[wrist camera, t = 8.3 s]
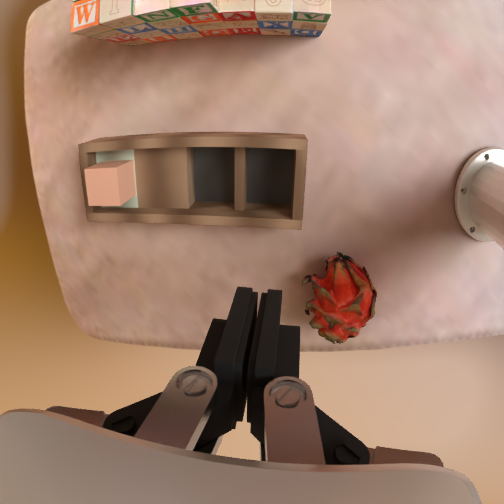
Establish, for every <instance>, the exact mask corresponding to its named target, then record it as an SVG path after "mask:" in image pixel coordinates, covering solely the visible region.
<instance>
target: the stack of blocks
mask: <svg viewBox="0 0 504 504" xmlns="http://www.w3.org/2000/svg"><path fill="white" fill-rule="evenodd" d="M72 1H73V2H74V3H73V4H72V8H71V24H70V33H72V34H78V35H84V36H89V37H93V38H97V39H101V40H109V41H114V42H118V43H119V44H123V45H128V46H132V45H138V44H144V43H151V42H153V43H155V42H162V41H170V40H178V39H190V38H201V37H205V36H215V35H232V34H260V33H261V34H262V35H297V36H313V37H319V36H320V35H321V33H322V31H323V30H324V28H325V27H326V25H327V22H328V20H329V18H330V16H331V0H72Z"/></svg>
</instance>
